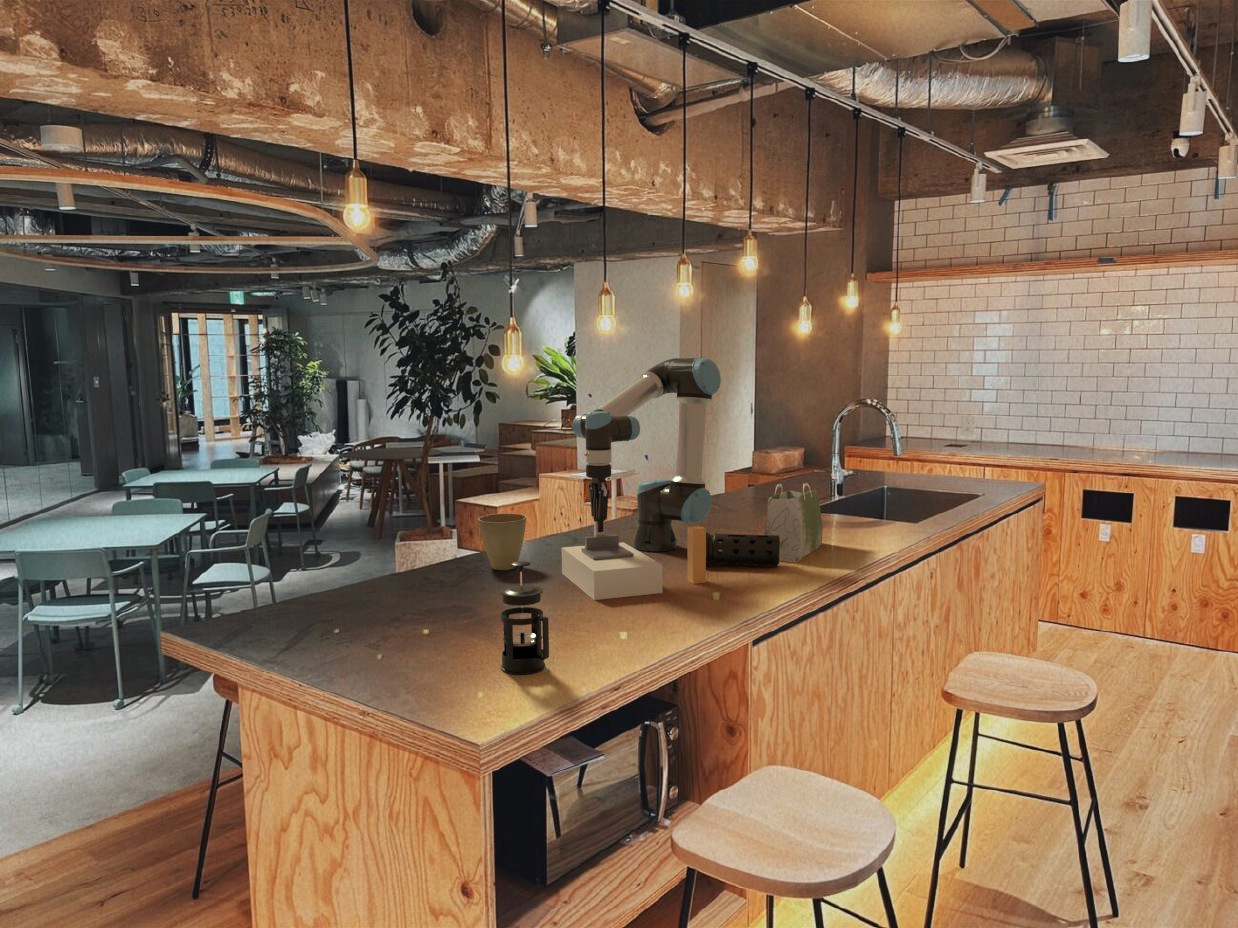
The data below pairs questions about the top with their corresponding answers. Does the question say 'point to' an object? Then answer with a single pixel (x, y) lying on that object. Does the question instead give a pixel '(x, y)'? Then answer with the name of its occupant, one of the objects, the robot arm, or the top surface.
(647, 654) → the top surface
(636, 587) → the socket block
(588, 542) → the shutter
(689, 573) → the plug peg
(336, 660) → the top surface
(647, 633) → the top surface
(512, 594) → the french press
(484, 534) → the plant pot
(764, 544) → the muzzle brake
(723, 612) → the top surface
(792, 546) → the grocery bag
